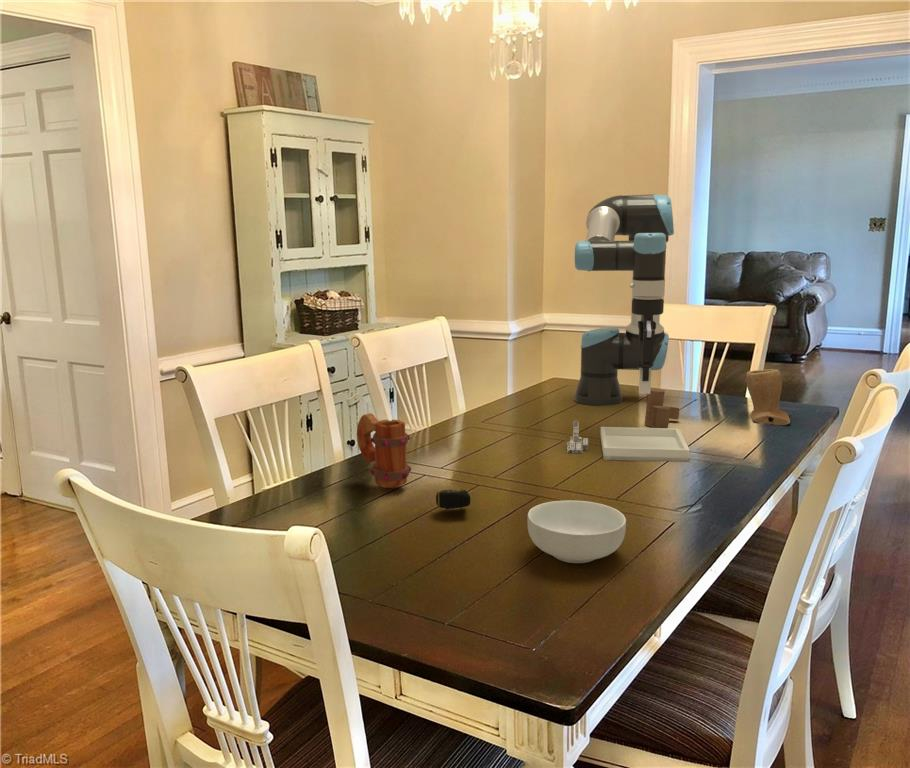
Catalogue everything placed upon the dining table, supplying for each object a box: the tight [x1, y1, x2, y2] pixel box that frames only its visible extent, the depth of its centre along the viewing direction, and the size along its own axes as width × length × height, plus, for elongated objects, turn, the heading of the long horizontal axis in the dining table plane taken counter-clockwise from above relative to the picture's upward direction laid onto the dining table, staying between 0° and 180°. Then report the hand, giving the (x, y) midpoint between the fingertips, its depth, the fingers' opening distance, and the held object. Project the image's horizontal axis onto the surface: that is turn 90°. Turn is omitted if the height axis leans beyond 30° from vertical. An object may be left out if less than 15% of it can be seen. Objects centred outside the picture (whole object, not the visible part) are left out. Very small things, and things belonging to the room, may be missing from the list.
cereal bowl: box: [526, 499, 627, 564], centre depth 135 cm, size 17×17×7 cm
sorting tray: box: [600, 426, 691, 462], centre depth 196 cm, size 20×20×3 cm
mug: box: [356, 412, 412, 489], centre depth 173 cm, size 15×8×15 cm, turn 47°
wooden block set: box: [644, 387, 680, 428], centre depth 215 cm, size 18×9×10 cm, turn 160°
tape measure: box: [435, 489, 472, 511], centre depth 156 cm, size 7×7×4 cm
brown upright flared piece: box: [745, 368, 791, 426], centre depth 221 cm, size 15×12×15 cm
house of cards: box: [566, 420, 589, 454], centre depth 196 cm, size 9×9×8 cm
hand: (644, 393), depth 194 cm, fingers closed
